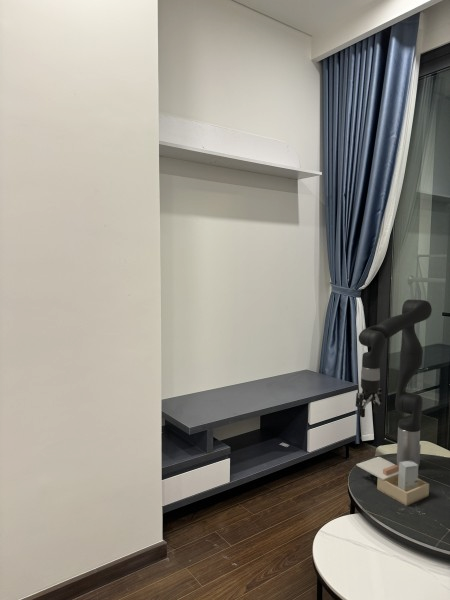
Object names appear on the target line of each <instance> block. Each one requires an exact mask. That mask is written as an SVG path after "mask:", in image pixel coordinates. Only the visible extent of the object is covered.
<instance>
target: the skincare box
mask: <svg viewBox="0 0 450 600" xmlns="http://www.w3.org/2000/svg"><path fill="white" fill-rule="evenodd" d="M398 466H399V476H398V488H400V489H402V490H404V491H406V492H407V491H410V490H412V489H414V488H417V484H418V479H419V467H418V465H417V464H416V463H414V462H413V461H404V462H399V465H398Z"/></svg>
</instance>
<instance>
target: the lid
mask: <svg viewBox="0 0 450 600" xmlns="http://www.w3.org/2000/svg"><path fill="white" fill-rule="evenodd" d="M356 466H357V467H359V468H360V469H362V470H364V471H366V472H367V473H369V474H371V475H373V476H375V477H377V479H378V478H380V479H382V480H386V479H388V478H391V477H393V476H396V475H399V465H398V464H394V463H393V462H391V461H389V460H387V459H385V458H382V457H381V456H377V457H376V456H375V457H374V458H371V459H368V460H365V461H362V462H360V463H359V462H358V463H356Z"/></svg>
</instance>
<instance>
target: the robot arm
mask: <svg viewBox="0 0 450 600" xmlns="http://www.w3.org/2000/svg"><path fill="white" fill-rule="evenodd" d="M432 310H433V309H432V305H431V303H430V302H429V301H427V300H425V299H406V300H405V301H404V302H403V304H402V307H401V314H397V315H395V316H394V315H393V316H391V317H389V318H386V319H384V321H382V322H380V323H379V324H376V325H375V324H374V325H372V326H369V327H366V328H364V329H362V331H360V332H359V334H358V342H359V343H360V344H361V345H362V346H364V347H369V348H371V349H370V351H365V352H363V354H362V359H361V371H360V388H361V389H362V390H361V392H360V393H359V392H356V394H355V407H356V408H358V410H359V412H358V414H359V417H360V418H365V417H366V409H365V408H366V407H367V405H368V404H369V403H371V402H373V409H372V411H373V413H374V414H379V412H380V405H381V404H383V403H384V389H382V388H380V387H381V385H380V384H381V367H380V366H381V356H382V354H383V350H384V347H385V344H386V340H388V339H390V338H392V337H393V336H394V335H396V334H398V333H399V332H401V342H400V344H401V346H400V353H399V371H398V380H397V388H396V393H395V399H394V400H395V402H394V404H395V410H396V411H397V412H399V413H400V412H401V413H403V414H407V415H411V417H405V418H401V419H399V420H398V423H397V443H396V444H397V446H396V447H397V449H396V465H398V466H399V462H404V461H413V462H414V463H416V464H417V465H418V468H419V467H420V465H421V463H420V462H421V446H422V445H421V444H420V442H421V424H422V423H421V422H422V412H423V396H422V395H420V394H418V393H412V392H408V391H407V386H408V384H409V383H410V381H411V379H412V378H413V377H414V376H415V375H416V374H417V372H418V371H419V370H420V369H421V367H422V364H423V353H424V349H423V346H422V344H421V342H420V340H419V338H418V336H417V333H416V331H415V330H416V329H415V324H418V323H421V322H424V321H427V320H428V319H429V318H430V317H431V315H432Z"/></svg>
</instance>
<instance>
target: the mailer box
mask: <svg viewBox="0 0 450 600" xmlns="http://www.w3.org/2000/svg"><path fill="white" fill-rule="evenodd" d="M398 476H399V475H396V476H393V477H391V478H388V479H386V480H382V479H380V478H378V477H377V485H376V486H377V487H376V490H378V491H379V492H381V493H383V494H384V495H386V496H388V497H390V498H391V499H394V500H395V501H397V502H399V503H400V504H402V505H403V506H405V507H407V506H410V505H412V504H414V503H416V502H419V501H421V500H423V499H425V498H427V497H429V496H430V494H429V492H430V483H428V482H426V481H424V480H423V479H420V478H418V484H417V488H414V489H412V490H410V491H407V492H406V491H404V490H402V489H400V488H398Z"/></svg>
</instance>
